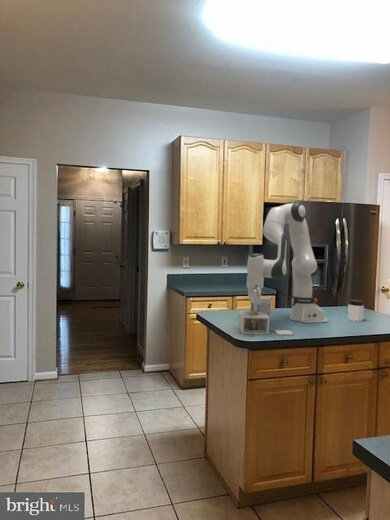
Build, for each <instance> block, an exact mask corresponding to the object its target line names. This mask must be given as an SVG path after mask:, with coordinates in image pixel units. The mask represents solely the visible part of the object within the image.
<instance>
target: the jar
mask: <svg viewBox="0 0 390 520" xmlns="http://www.w3.org/2000/svg"><path fill="white" fill-rule="evenodd" d="M347 306H348V307H347V309H348V310H347V320H350V321H351V322H352V321H353V322H363V321H364V313H365V305H364V301H363V300H362V299H349V301H348V305H347Z"/></svg>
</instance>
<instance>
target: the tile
mask: <svg viewBox="0 0 390 520" xmlns="http://www.w3.org/2000/svg"><path fill="white" fill-rule="evenodd" d="M274 333H275V334H276V336H290V337H291V336H293V337H294V333H293V332H292V331H291V330H290V329H289V330H288V329H287V330H286V329H274Z"/></svg>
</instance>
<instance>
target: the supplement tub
mask: <svg viewBox="0 0 390 520" xmlns="http://www.w3.org/2000/svg"><path fill="white" fill-rule="evenodd" d="M271 310H272V297H269V296H264V295H263V296H262V295H261V304H260V305H258V306H257V312H265V313H266V314H267V315H268V316H269V317H270V318H271V313H272V312H271ZM269 324H271V319H270V320H269Z"/></svg>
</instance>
